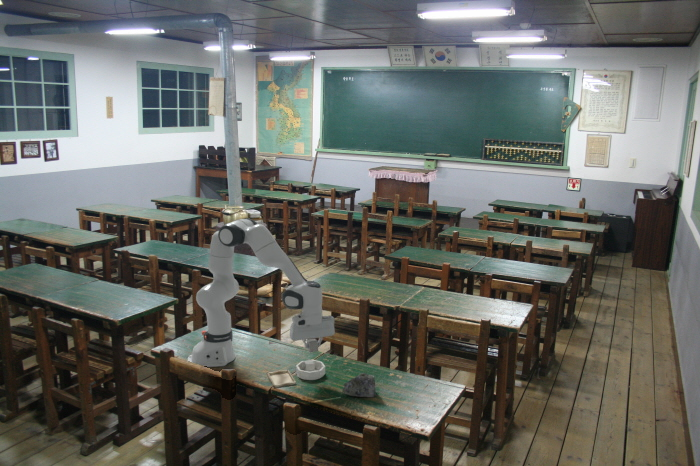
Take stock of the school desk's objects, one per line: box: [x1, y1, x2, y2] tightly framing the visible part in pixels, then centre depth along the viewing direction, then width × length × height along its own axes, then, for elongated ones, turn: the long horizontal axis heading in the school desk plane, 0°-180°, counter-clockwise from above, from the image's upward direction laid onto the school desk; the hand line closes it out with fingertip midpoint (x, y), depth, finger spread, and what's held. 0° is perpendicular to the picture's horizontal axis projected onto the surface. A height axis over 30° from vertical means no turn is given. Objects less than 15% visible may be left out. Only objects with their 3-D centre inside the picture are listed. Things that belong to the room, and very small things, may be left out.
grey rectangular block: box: [306, 338, 319, 353], centre depth 246 cm, size 4×4×4 cm
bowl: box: [295, 359, 326, 381], centre depth 251 cm, size 12×12×4 cm
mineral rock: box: [342, 372, 376, 398], centre depth 233 cm, size 13×11×10 cm
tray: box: [266, 369, 297, 388], centre depth 245 cm, size 10×13×2 cm
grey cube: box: [303, 359, 315, 372], centre depth 253 cm, size 4×4×4 cm
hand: (312, 346), depth 246 cm, fingers closed on grey rectangular block, 4 cm apart
